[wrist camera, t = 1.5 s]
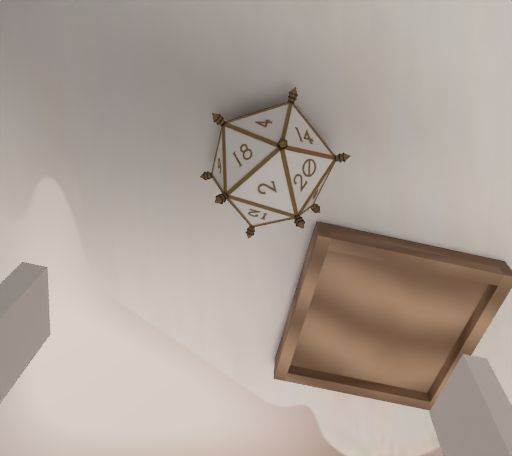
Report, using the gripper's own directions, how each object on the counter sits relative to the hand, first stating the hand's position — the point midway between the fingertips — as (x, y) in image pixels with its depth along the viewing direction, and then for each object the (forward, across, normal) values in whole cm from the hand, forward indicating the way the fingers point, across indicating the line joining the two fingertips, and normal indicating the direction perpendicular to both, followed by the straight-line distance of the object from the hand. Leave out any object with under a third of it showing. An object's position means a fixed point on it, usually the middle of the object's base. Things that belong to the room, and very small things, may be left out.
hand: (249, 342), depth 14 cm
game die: (+20, 0, 0) cm, 20 cm away
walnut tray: (+20, +12, -12) cm, 26 cm away
